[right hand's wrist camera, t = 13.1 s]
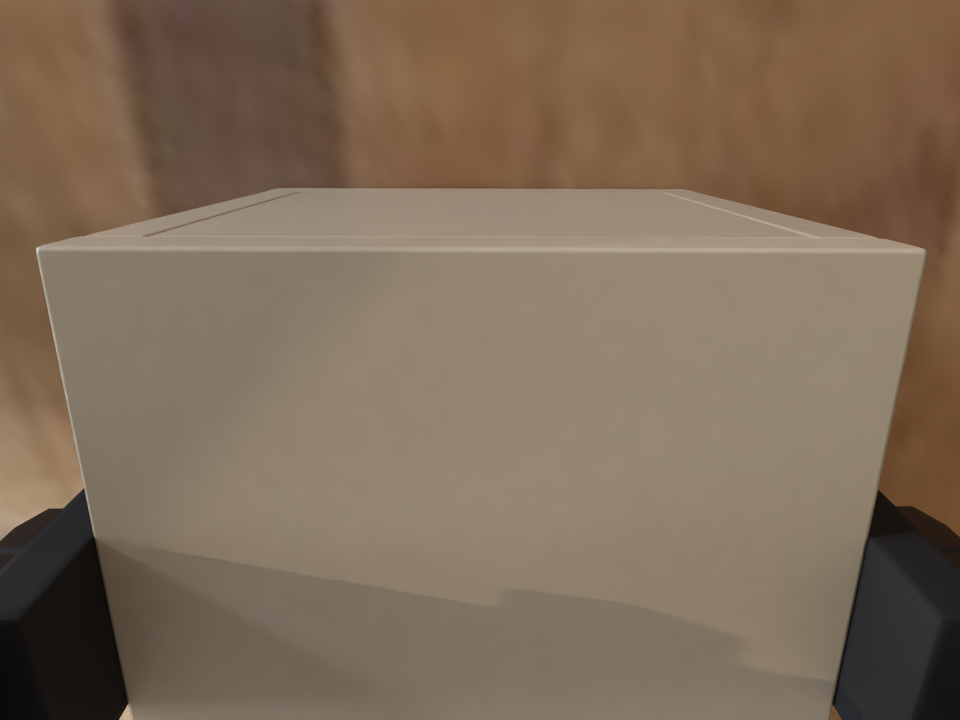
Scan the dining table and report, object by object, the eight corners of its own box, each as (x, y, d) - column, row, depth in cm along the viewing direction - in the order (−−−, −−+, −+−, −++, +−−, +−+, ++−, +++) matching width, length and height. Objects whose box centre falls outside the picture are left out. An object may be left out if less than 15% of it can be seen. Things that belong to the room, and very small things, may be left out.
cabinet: (628, 791, 22) (725, 1219, 13) (330, 789, 22) (230, 1217, 13) (686, 189, 16) (931, 248, 7) (276, 187, 16) (31, 245, 7)
